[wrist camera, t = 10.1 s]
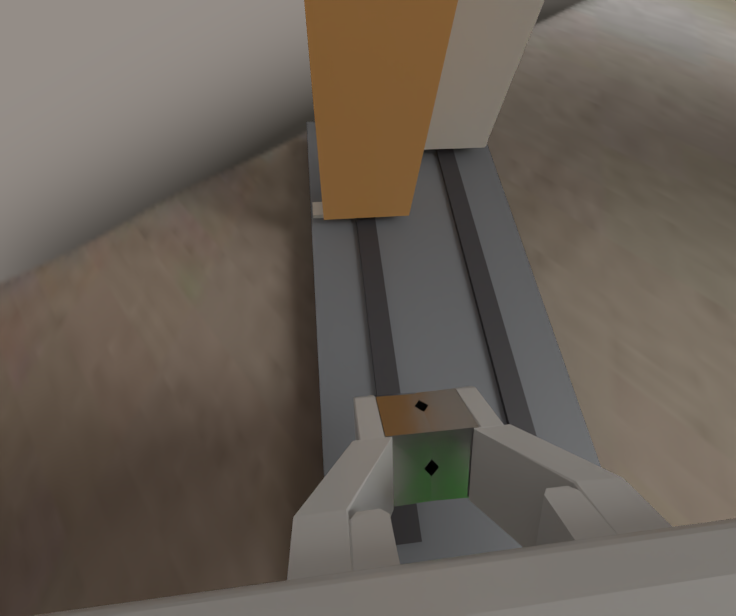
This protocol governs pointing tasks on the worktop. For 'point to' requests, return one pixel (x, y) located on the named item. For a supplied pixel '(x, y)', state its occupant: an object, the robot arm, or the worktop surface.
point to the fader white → (479, 69)
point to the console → (437, 328)
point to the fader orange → (374, 98)
